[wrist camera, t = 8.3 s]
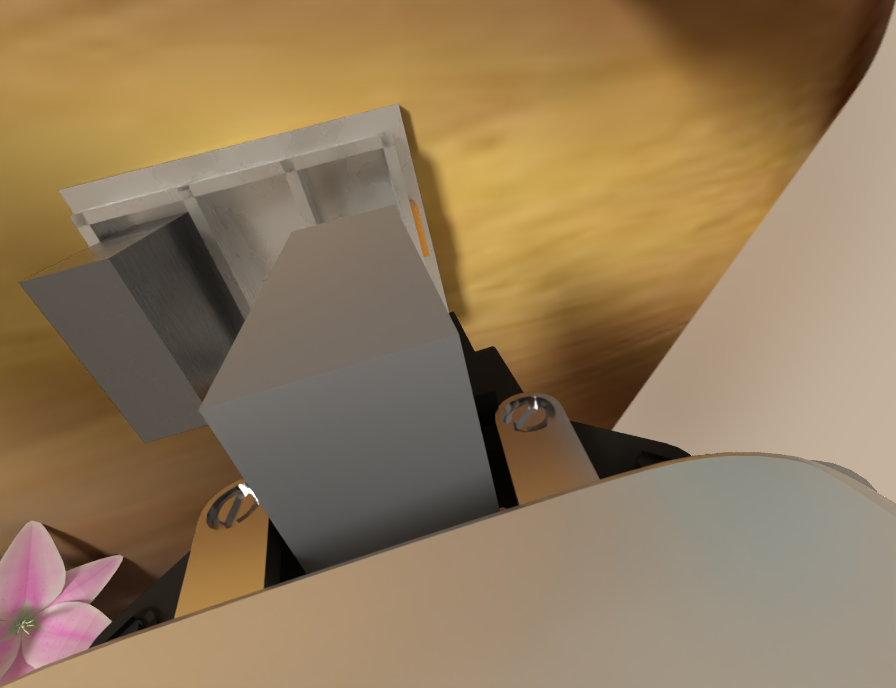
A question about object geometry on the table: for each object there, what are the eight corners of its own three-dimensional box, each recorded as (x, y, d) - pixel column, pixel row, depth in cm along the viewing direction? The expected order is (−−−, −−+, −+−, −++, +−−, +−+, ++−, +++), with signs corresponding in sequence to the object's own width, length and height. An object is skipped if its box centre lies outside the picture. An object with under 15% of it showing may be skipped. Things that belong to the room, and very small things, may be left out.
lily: (168, 589, 38) (148, 662, 30) (13, 690, 34) (-64, 810, 25) (91, 481, 36) (44, 525, 27) (-88, 574, 31) (-211, 662, 23)
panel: (291, 231, 13) (198, 409, 5) (394, 204, 13) (458, 333, 5) (371, 428, 17) (388, 698, 9) (448, 405, 17) (532, 649, 9)
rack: (65, 188, 22) (-106, 231, 14) (397, 104, 23) (423, 96, 15) (193, 385, 29) (128, 494, 20) (447, 310, 30) (485, 385, 22)
